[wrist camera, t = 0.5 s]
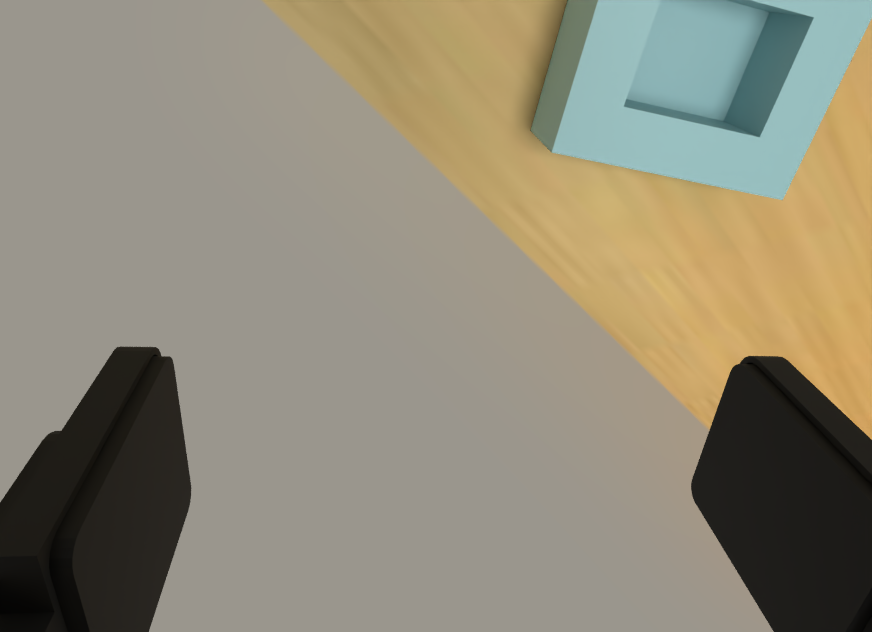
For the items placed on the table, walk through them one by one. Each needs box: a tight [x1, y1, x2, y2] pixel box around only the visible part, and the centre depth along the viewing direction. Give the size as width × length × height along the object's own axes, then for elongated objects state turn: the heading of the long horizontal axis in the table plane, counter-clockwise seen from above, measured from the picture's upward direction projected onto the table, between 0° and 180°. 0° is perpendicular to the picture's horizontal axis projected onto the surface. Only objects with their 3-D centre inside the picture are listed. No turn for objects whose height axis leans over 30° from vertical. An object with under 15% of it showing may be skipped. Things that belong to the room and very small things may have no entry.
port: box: [531, 0, 872, 200], centre depth 34 cm, size 12×14×5 cm
